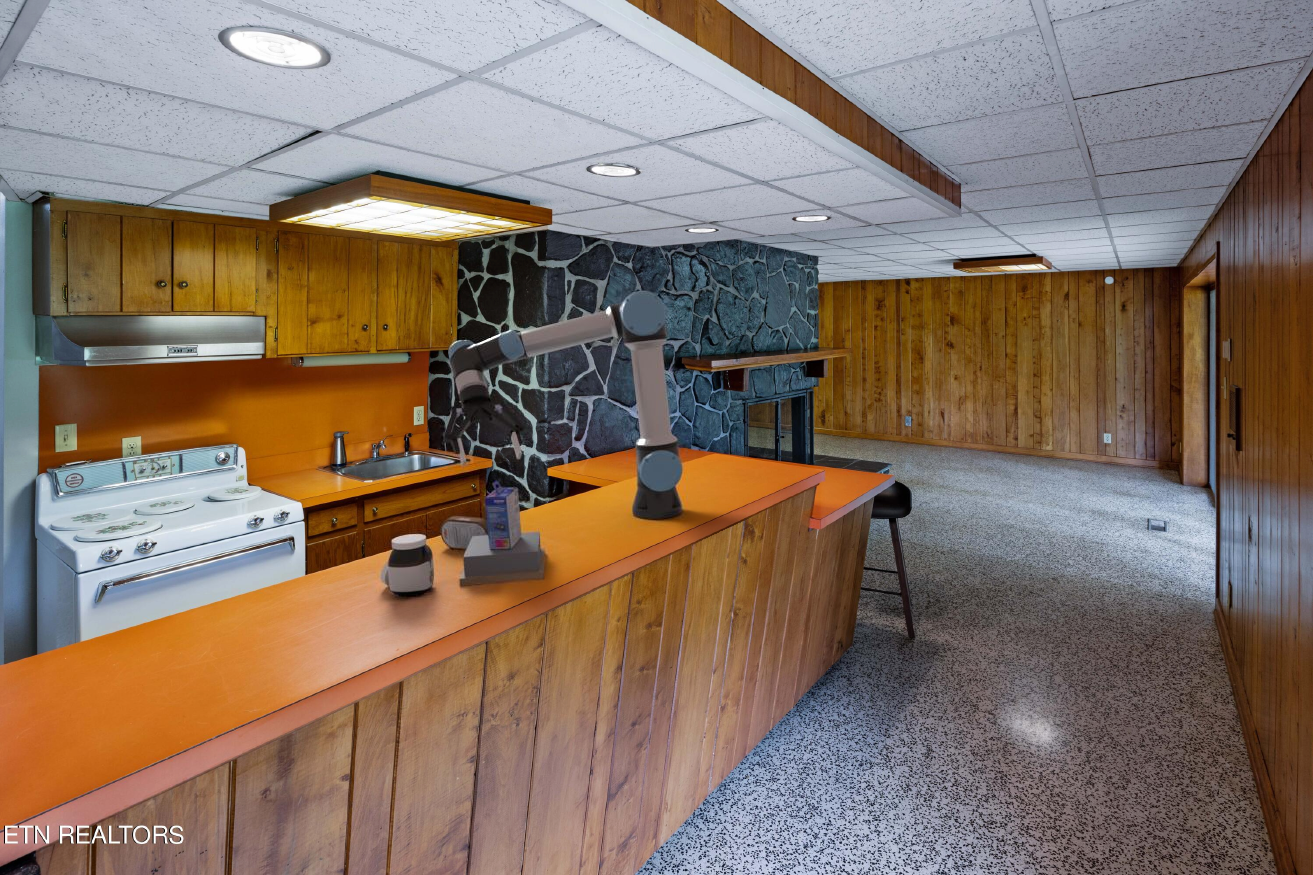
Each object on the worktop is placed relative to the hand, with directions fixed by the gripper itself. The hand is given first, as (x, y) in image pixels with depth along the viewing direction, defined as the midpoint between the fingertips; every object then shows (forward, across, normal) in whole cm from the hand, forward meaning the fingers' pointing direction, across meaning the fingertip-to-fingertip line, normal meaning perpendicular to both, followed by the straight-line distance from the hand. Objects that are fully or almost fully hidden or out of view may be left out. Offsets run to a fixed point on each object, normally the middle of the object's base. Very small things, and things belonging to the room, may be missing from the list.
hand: (492, 460), depth 161 cm
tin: (+13, +6, -22) cm, 26 cm away
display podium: (+26, +2, -6) cm, 27 cm away
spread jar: (+27, +24, -5) cm, 36 cm away
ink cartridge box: (+22, +2, -3) cm, 22 cm away
